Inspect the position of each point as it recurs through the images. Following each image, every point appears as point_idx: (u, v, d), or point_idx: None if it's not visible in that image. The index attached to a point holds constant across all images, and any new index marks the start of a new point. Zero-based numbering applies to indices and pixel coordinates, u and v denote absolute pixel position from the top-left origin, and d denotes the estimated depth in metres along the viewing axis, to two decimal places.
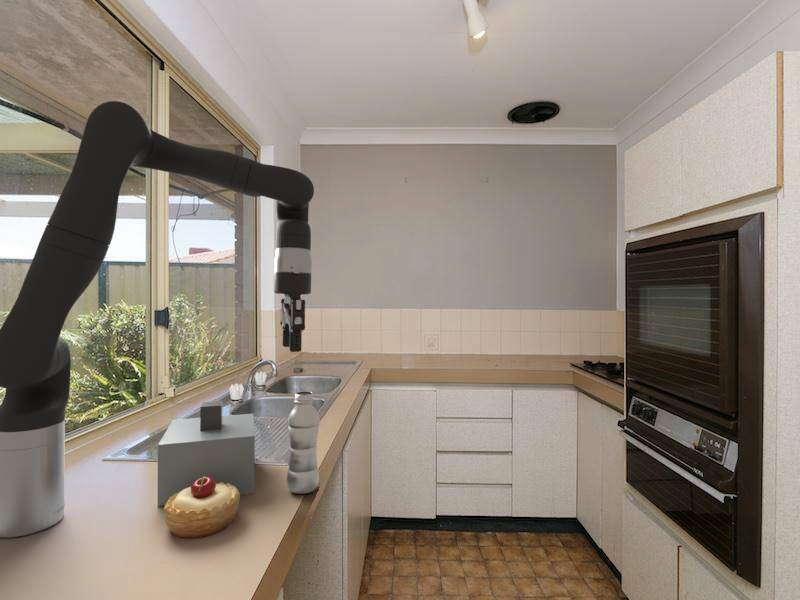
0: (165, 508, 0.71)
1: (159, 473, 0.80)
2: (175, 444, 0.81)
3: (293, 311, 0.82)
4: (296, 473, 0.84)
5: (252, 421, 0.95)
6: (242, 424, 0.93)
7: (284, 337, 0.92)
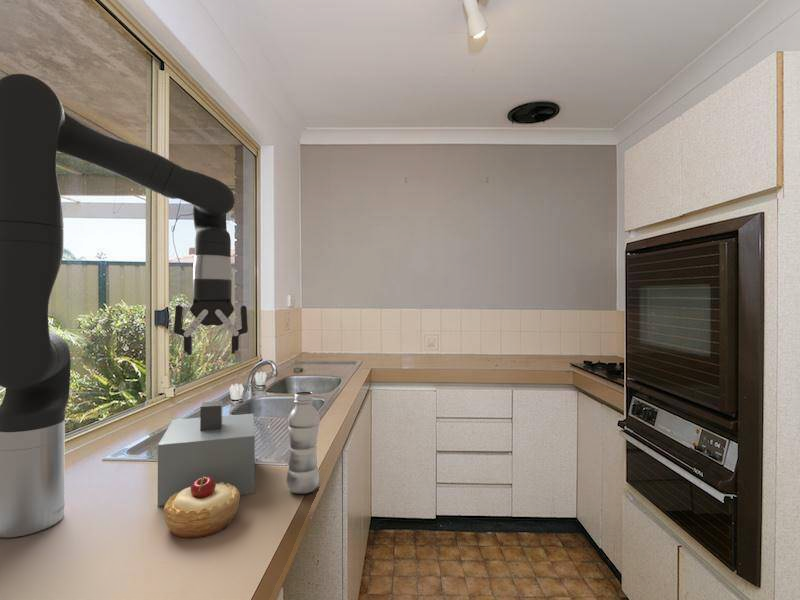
0: (165, 508, 0.71)
1: (159, 473, 0.80)
2: (175, 444, 0.81)
3: (246, 316, 0.92)
4: (296, 473, 0.84)
5: (252, 421, 0.95)
6: (242, 424, 0.93)
7: (191, 345, 0.89)
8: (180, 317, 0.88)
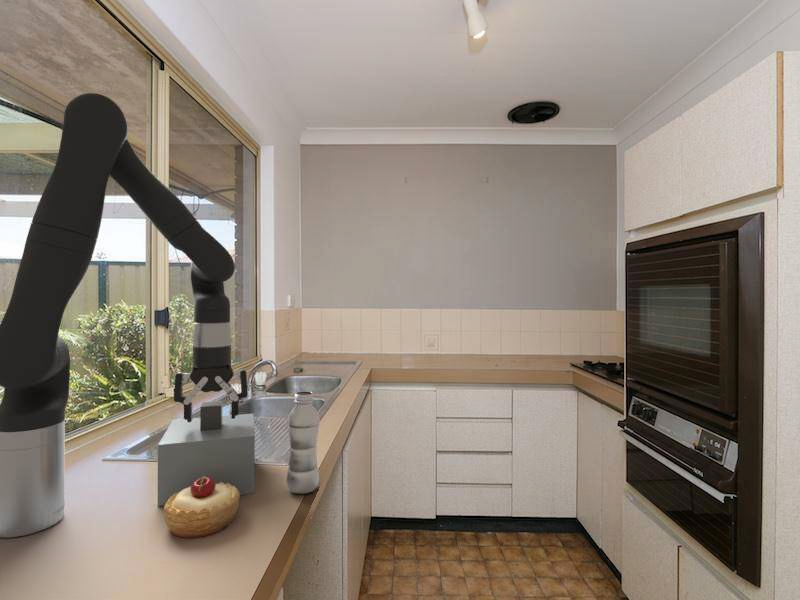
0: (165, 508, 0.71)
1: (159, 473, 0.80)
2: (175, 444, 0.81)
3: (246, 380, 0.92)
4: (296, 473, 0.84)
5: (252, 421, 0.95)
6: (242, 424, 0.93)
7: (191, 412, 0.89)
8: (180, 385, 0.88)
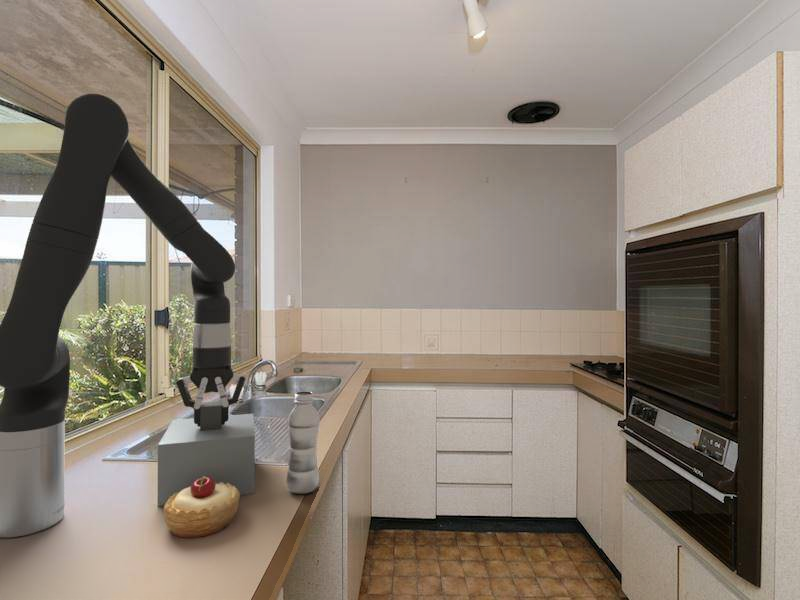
0: (165, 508, 0.71)
1: (159, 473, 0.80)
2: (175, 444, 0.81)
3: (242, 387, 0.92)
4: (296, 473, 0.84)
5: (252, 421, 0.95)
6: (242, 424, 0.93)
7: None
8: (184, 390, 0.88)
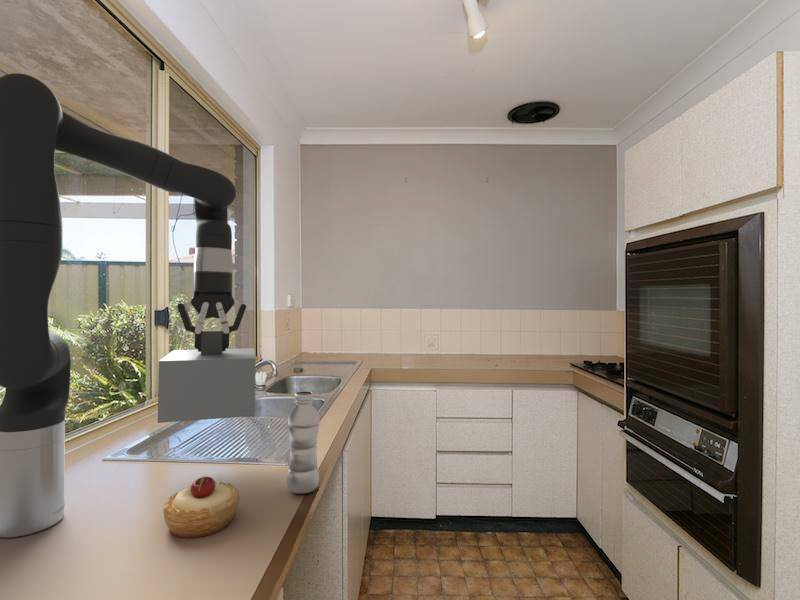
0: (165, 508, 0.71)
1: (159, 389, 0.80)
2: (176, 361, 0.81)
3: None
4: (296, 473, 0.84)
5: (253, 351, 0.95)
6: (243, 352, 0.93)
7: None
8: (185, 314, 0.88)
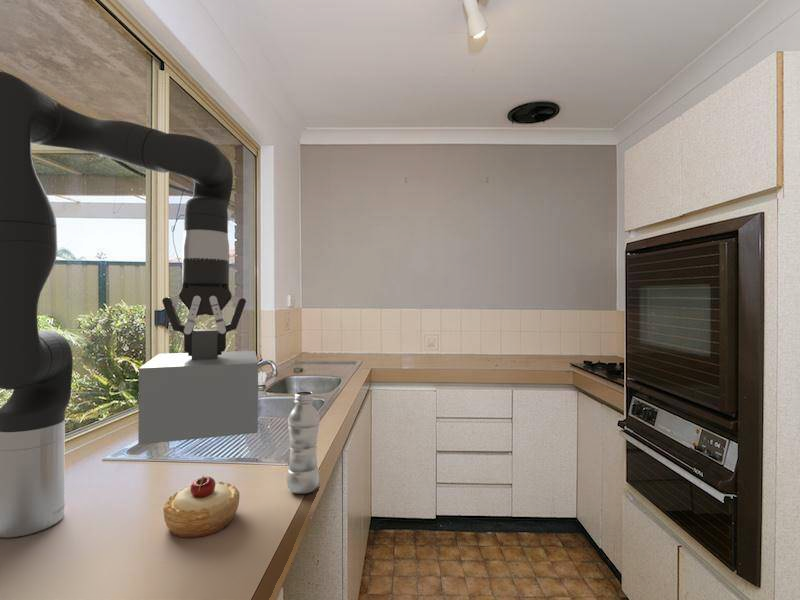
0: (165, 508, 0.71)
1: (140, 403, 0.65)
2: (160, 368, 0.66)
3: (242, 311, 0.77)
4: (296, 473, 0.84)
5: (254, 355, 0.80)
6: (243, 356, 0.78)
7: None
8: (172, 310, 0.73)
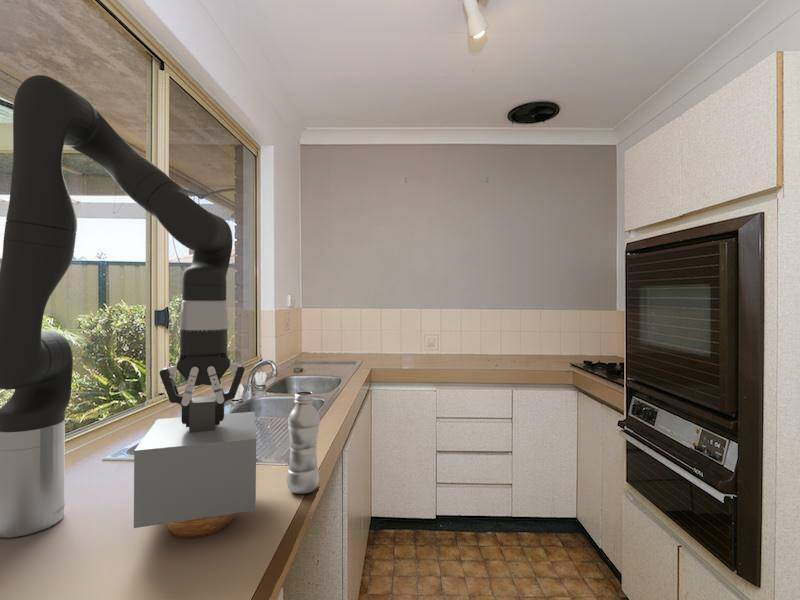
0: None
1: (136, 486, 0.63)
2: (156, 449, 0.64)
3: (240, 380, 0.75)
4: (296, 473, 0.84)
5: (253, 421, 0.79)
6: (241, 424, 0.77)
7: None
8: (170, 382, 0.71)
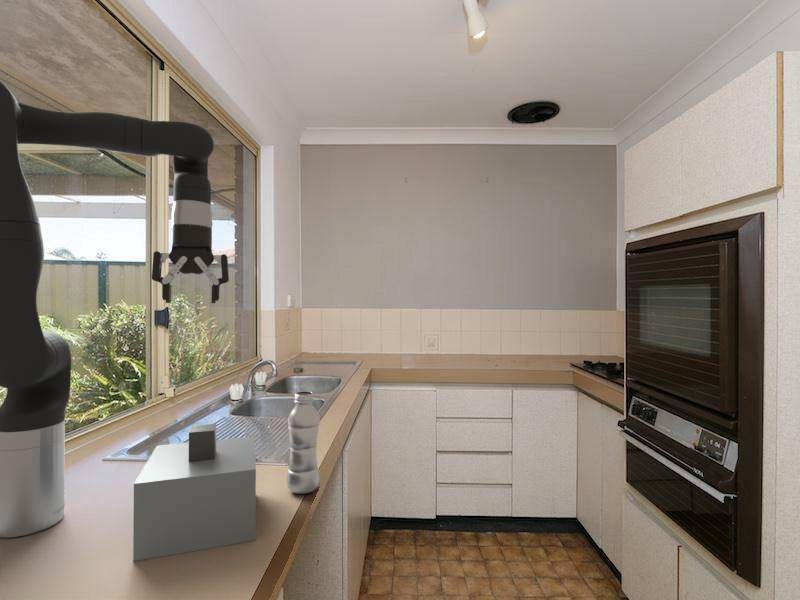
0: None
1: (135, 519, 0.63)
2: (156, 482, 0.64)
3: (227, 265, 0.90)
4: (296, 473, 0.84)
5: (252, 447, 0.79)
6: (241, 451, 0.77)
7: (169, 293, 0.87)
8: (158, 264, 0.86)
